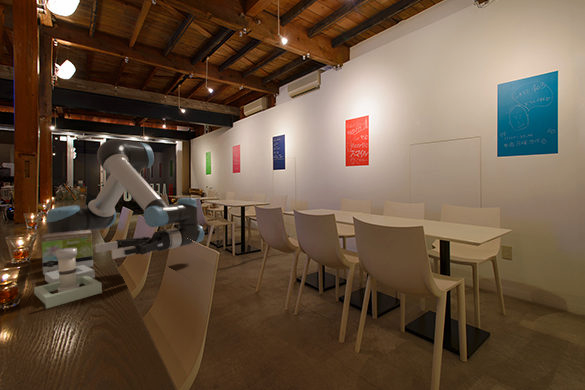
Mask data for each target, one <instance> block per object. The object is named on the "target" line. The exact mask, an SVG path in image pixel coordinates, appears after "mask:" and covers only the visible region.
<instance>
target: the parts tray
mask: <svg viewBox="0 0 585 390" xmlns="http://www.w3.org/2000/svg"><path fill="white" fill-rule="evenodd" d="M77 283H79V285H82V286H79V287H78V288H74V289H71V290H67V291H63V292H59V293H58V292H56V293H51V292H55V291H58V287H59V286H60V281H59V282H55V283H51V284H49V283H46V284H43V285H38V286H35V287H33V290H34V295H35V296H36V298H38V299H39V300H40V301H41V302H42V304H43V305H42V306H43V307H44V309H46V310H47V309H50V308H54V307H57V306H61V305H65V304H68V303H70V302H74V301H78V300H80V299H85V298H89V297H91V296H94V295H95V296H96V295H98V294H102V293H103V290H102V289H103V286H102V282H101V281H99V280H97V279H95V278H91V277H89V276H87V275H85V276H80V277H77Z"/></svg>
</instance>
